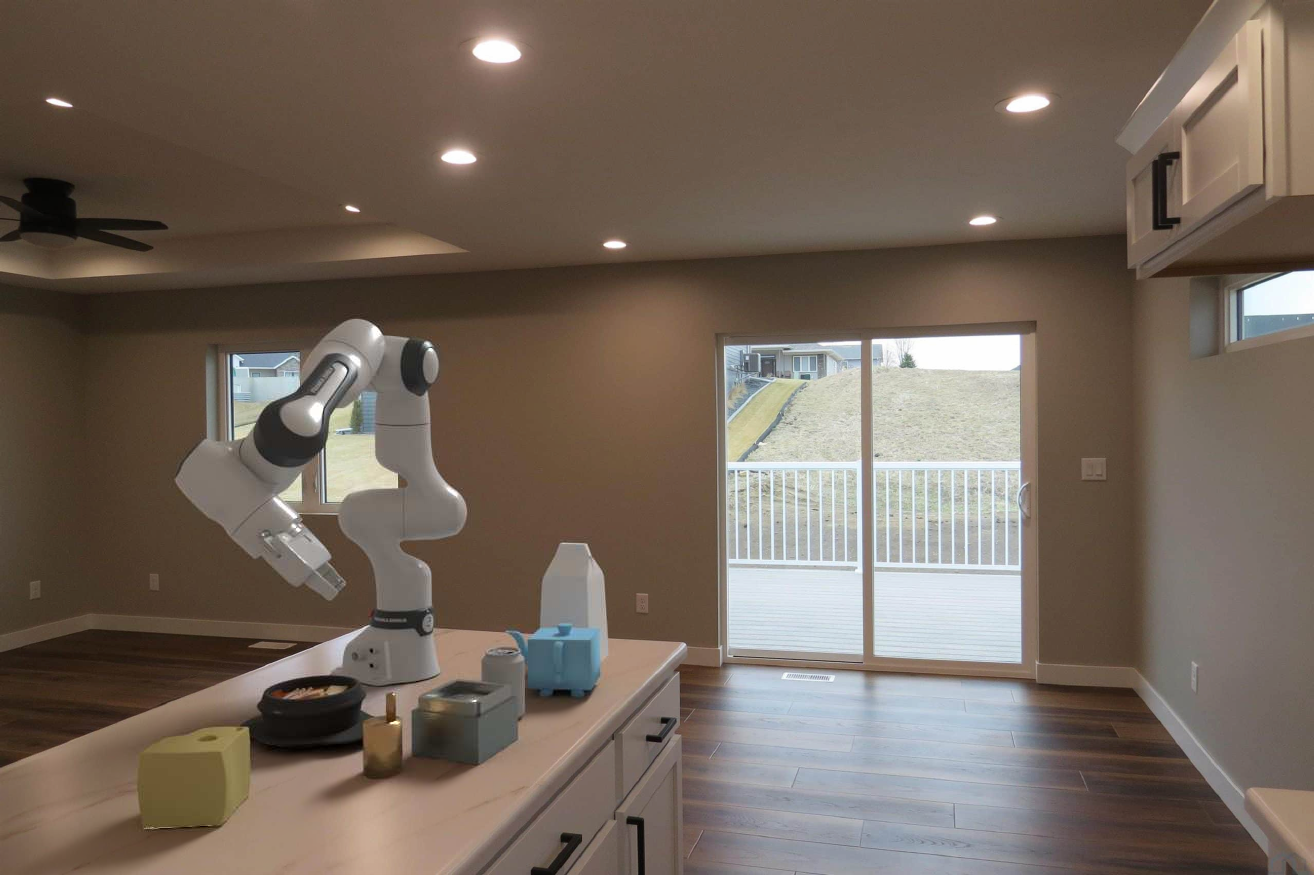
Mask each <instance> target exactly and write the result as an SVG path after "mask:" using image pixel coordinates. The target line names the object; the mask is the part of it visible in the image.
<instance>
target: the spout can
mask: <svg viewBox="0 0 1314 875" xmlns="http://www.w3.org/2000/svg"><path fill="white" fill-rule="evenodd" d="M396 695H397V693H396V692H387V693H386V694H385V715H378V716H377V715H376V716H375V717H373V718H369V719H367V720H365V721H364V722H363V739H362V775H363V777H364V778H366V779H370V780H386V779H391V778H393V777H397V776H399V775H400V774H401V773H402V772H403V769H404V768H403V767H404V765H403V763H404V762H403V757H404V755H403V718H402V717H401V716H398V715H397V706H396V705H397V703H396V701H397V699H396V698H397V696H396Z"/></svg>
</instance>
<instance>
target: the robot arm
mask: <svg viewBox="0 0 1314 875" xmlns="http://www.w3.org/2000/svg"><path fill="white" fill-rule="evenodd" d="M381 331H382V330H380V329H379V328H378V327H377V326H376V325H375V324H373V323H372V322H370V321H368V320H366V319H360V318H353V319H351V318H350V319H348V320H346V321H344V322H342V323H341V324H339V325H337V326H335V328H334V329H332V330H331V331H330V332H328V333H327V334H326V335H325V336H324V337H323V338H322V339H321V340H320V341H319V342H318V344H317V345H316V346H315V347H314V348H313V349H312V351H311V352H310V353H309V355H308V357H307V358H306V360H305V362H304V363H303V366H302V367H301V370H300V372H299V375H298V376H299V377H298V379H299V383H300V386H298V388H297V389H296V390H295V391H294V392H293V393H291V394H288V395H286V396H284V397H281V398H277V399H276V400H273V401H271V402H270V403H269V404H267V405H266V406H264V408H263V409H262V411H261V412H260V415H259V416H258V417H257V420H256V422H255V424H254V425H253V427H252V428H251V429H250V431H249V432H248V434H247V435H246V436H245V437H241V438H239V439H234V440H226V441H221V440H218V441H216V440H212V439H209V438H205V439H202V440H200V441H198V442H197V443H196V444H195V445H194V446H193V447H191V448H190V450H189V451H188V452H187V453H186V454H185V456H184V458H182V459H181V460H180V462H179V463H178V465H177V467H176V469H175V471H174V478H173V480H174V481H175V484H176V485H177V487H178V488H179V490H180V491H181V492H182V493H183V494H184V495H185V497H186V498H187V499H188V500H189V501H190V502H191V504H193V505H194V506H195V507H196V508H197V509H198V511H200V512H201V513H203V514H204V515H205V516H206V517H207V518H208V519H210V520H212V521H214V522H216V523H217V524H219V525H220V526H221V527H222V528H223V529H224V530H225V532H226V534H227V535H228V536H229V537H230V539H232V540H233V541H234V542H235V543H236V544H238V546H240V547H241V548H242V549H243V550H244V551H245V552H246V553H248V555H249V556H250V557H251V558H253V559H255V560H256V559H258V558H260V557H262V558H263V559H264V560H265V561H266V562H267V564H269V565H270V566H271V567H272V568H273V569H274V570H275V571H276V572H277V573H278V574H279V575H280V576H281V577H282V578H283V579H284V580H285V581H287V583H289V584H290V585H291V586H294V587H296V588H297V587H301V585H302V584H305V585H306V586H307V587H308V588H309V589H312V590H313V591H314V592H316V593H318V594H319V595H321V596H322V597H323V598H324V599H326V600H327V601H329V602H330V601H332V600H333V599H334V598H336V596H337V595H338V594H339V592H340V591H342V589H344V587H346V585H347V582H346V580H344V579H343V578H342V577H341V576H340V575H339V573H338V572H337V571H336V569H335V568H334V567H333V566H332V565H331V564H330V563H329V561H330V560H331V559H332V555H331V553H330V552H329V551H328V549H327V548H326V546H325V545H324V544H323V543H322V542H321V541H320V540H319V539H318V538H317V537H316V536H315V535H314V534H313V533H312V532H311V531H310V530H309V528H307V526H305V525H304V524H303V523H302V521H303V518H302V517H301V515H300V514H299V513H298V512H297V511H295V509H294V508H292V507H291V506H290V504H289V503H287V502H286V501H285V500H283V498H281V496H279V495H281V493H283V492H285V491H287V490H288V489H289V488H290V487H291V485H292V484H294V482H295V481H296V480H297V479H298V477H299V476H300V475H301V474H302V473H303V471H304V470H305V469H306V468H307V466H308V465H309V464H310V462H311V461H312V460H314V458H315V457H316V456H317V455H318V454H320V453H321V452H322V451H323V449H324V448H325V447H326V444H327V441H328V438H329V432H330V431H329V429H330V428H329V427H330V420H331V416H332V415H333V413H334V411H335V410H336V409H343V408H347V407H348V406H350V405H351V404H352V403H353V402H355V400H356V399H357V398H359V397H360V396H361V395H362V393H363V392H366V393H367V392H368V393H375V394H376V397H375V405H374V452H375V454H374V456H375V458H376V460H377V462H378V464H379V465H380V466H381V467H383V468H385V469H386V470H388V471H389V472H393V473H394V474H397V475H399V476H400V477H403V479H405V481H406V483H407V486H406V487H399V488H398V487H397V488H395V487H392V488H389V487H388V488H369V489H365V490H358V491H355V492H351V493H348V494H347V495H346V496H345V497H344V498H343V500H341V503H340V505H339V508H338V512H337V517H338V518H337V520H338V524H339V525H338V526H339V527H340V530H341V531H342V533H343V535H344V536H346V537H347V538H348V539H349V540H351V541H352V542H354V543H355V544H356V545H357V546H359V548H361V549H362V550H363V552H364V553H365V554H366V556H367V557H368V559H369V560H370V563H371V565H372V569H373V572H374V577H375V578H374V579H375V587H376V588H375V589H376V590H375V591H376V607H375V608H374V609H372V610H370V611H367V612H365V614H367V615H366V616H365V618H367V619H368V618H370V617H371V619H370V622H369V626H367V627H366V628H365V629H364V630H363V631H361V632H360V633H359V634H358V635H356V636H355V637H354V638H353V639H352V640H350V641H349V642H348V643H347V644H346V646H345V648H344V651H343V655H342V663H341V664H340V665H338V666H336V667H335V668H333V669H332V670H331V672H330V675H335V676H347V677H352V678H355V679H357V680H358V681H359V682H360V684H366V685H370V686H375V687H381V686H387V685H392V684H401V683H403V684H404V683H411V682H416V681H417V682H418V681H422V680H427V679H430V678H432V677H436V676H438V675H439V673H441V668H440V665H439V662H438V657H437V653H436V652H437V651H436V648H435V640H434V627H435V610H434V609H435V608H434V607H435V606H434V604H433V603H432V602H433V601H432V600H433V599H432V597H433V596H432V594H433V593H432V592H433V591H432V590H433V589H432V583H433V582H432V571H431V569H430V566H429V565H428V564H427V563H426V562H424V561H423V560H421V559H419V558H417V557H415V556H413V555H410V554H407V553H406V552H404V551H403V550H402V548H401V544H400V543H401V542H404V541H423V540H425V541H426V540H439V539H443V538H447V537H452V536H455V535H458V534H459V533H460V532H461V530H462V529H463V528H464V526H465V524H466V521H467V516H468V508H467V505H466V501H465V499H464V498H463V496H462V494H461V493H460V492H458V491H457V490H456V489H455V488H454V487H452V486H450V485H449V484H448V483H447V481H445V480H444V478H443V476H442V475H440V473H439V471H438V469H437V467H436V464H435V462H434V456H433V450H432V441H431V439H432V438H431V436H432V435H431V409H430V408H431V407H430V401H429V399H430V398H429V392H428V391H429V390H430V389H432V387H433V386H434V384H435V383H436V381H437V379H438V377H439V372H440V359H439V354H438V351H437V349H436V348H435V347H434V345H433V344H432V343H431V342H430V341H428V340H425V339H423V338H417V337H410V338H409V337H402V336H394V335H383V333H382V332H381Z"/></svg>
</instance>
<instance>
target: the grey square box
mask: <svg viewBox="0 0 1314 875" xmlns="http://www.w3.org/2000/svg"><path fill="white" fill-rule="evenodd" d="M417 700H418V701H417V707H416V708H414V709H412V710H411V711H410V712H411V756H413V757H420V758H428V759H435V760H442V761H447V762H448V761H449V762H456V763H463V764H469V765H477V766H479V765H481V764H482V763H483V762H485V761H487V760H488V759H490V758H491V757H493V756H494V755H496V754H497V753H499V752H500V751H501V752H502V751H503V749H505V748H506V747H508V746H510V745H512V744H513V743H514V742H516V741H517V740H519V719H518V696H511V684H502V683H493V682H483V681H482V680H471V679H463V678H456V679H452V680H450V681H447V682H446V683H443V684H442V685H441V684H440V685H439V686H436V687H434V688H433V689H431V690H428V691H426V692H424V693H422V694H420V695H419V696H418V697H417Z"/></svg>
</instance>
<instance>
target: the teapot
mask: <svg viewBox="0 0 1314 875" xmlns="http://www.w3.org/2000/svg"><path fill="white" fill-rule="evenodd" d="M505 633H507V634H509V635H510V636H511V637H512V638H514V640H515V642H516V644H517V648H519V649H520V650H521V652H520V654H521V655H522V656H523V657H524V663H525V666H527V689H528V690H540V691H539V694H538V696H539V695H542V696H541V697H544V696H545V697H549V696H548V695H551V696H553V694H554V690H561V691H562V690H563V691H564V690H567V691H570V696H571V697H572V696H573V698H583V697H584V695H585V692H584V691H592V690H593V688H594V686H595V685H596V684H597V682H598V680H599V678H600V677H601V663H600V628H572V624H570V623H561V624H558V625H557V628H540V627H539V628H538V629H537V630H536V631H535V632H534V633H533V634H532V635H531V636H530V637H529V638H528V639H527V642H526V640H525V637H524V635H523V634H522V633H521V632H520V631H517V630H505ZM585 696H586V695H585Z"/></svg>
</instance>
